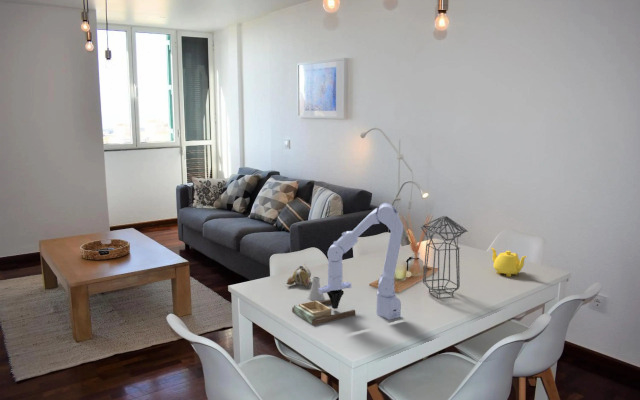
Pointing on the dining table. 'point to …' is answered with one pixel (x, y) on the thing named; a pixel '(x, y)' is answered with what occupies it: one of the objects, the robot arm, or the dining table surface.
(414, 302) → the dining table surface
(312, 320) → the bay
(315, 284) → the flask
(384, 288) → the robot arm
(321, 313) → the light wooden drawer
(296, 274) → the ceramic sculpture
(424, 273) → the geometric lantern
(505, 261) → the teapot
